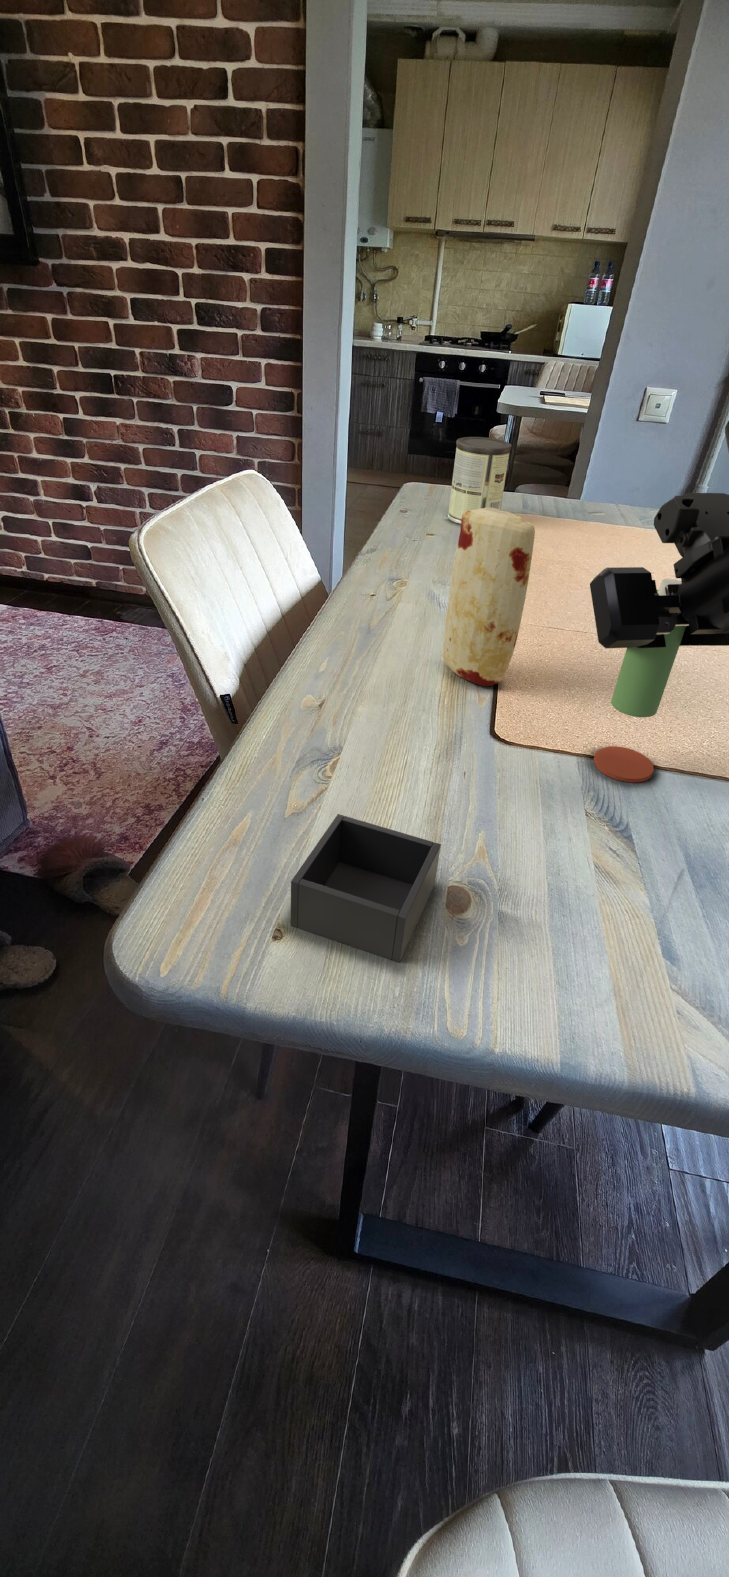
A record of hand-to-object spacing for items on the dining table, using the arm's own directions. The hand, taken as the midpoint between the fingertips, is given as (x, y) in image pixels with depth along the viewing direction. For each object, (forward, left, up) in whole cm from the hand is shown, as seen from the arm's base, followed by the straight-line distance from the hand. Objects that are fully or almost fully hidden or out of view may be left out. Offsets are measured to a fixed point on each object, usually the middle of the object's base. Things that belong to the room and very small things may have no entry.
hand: (645, 641), depth 70 cm
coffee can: (+48, -70, -14) cm, 86 cm away
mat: (-2, 0, -13) cm, 14 cm away
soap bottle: (-1, +1, -6) cm, 6 cm away
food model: (+19, -8, -14) cm, 25 cm away
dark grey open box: (+10, +33, -13) cm, 37 cm away
